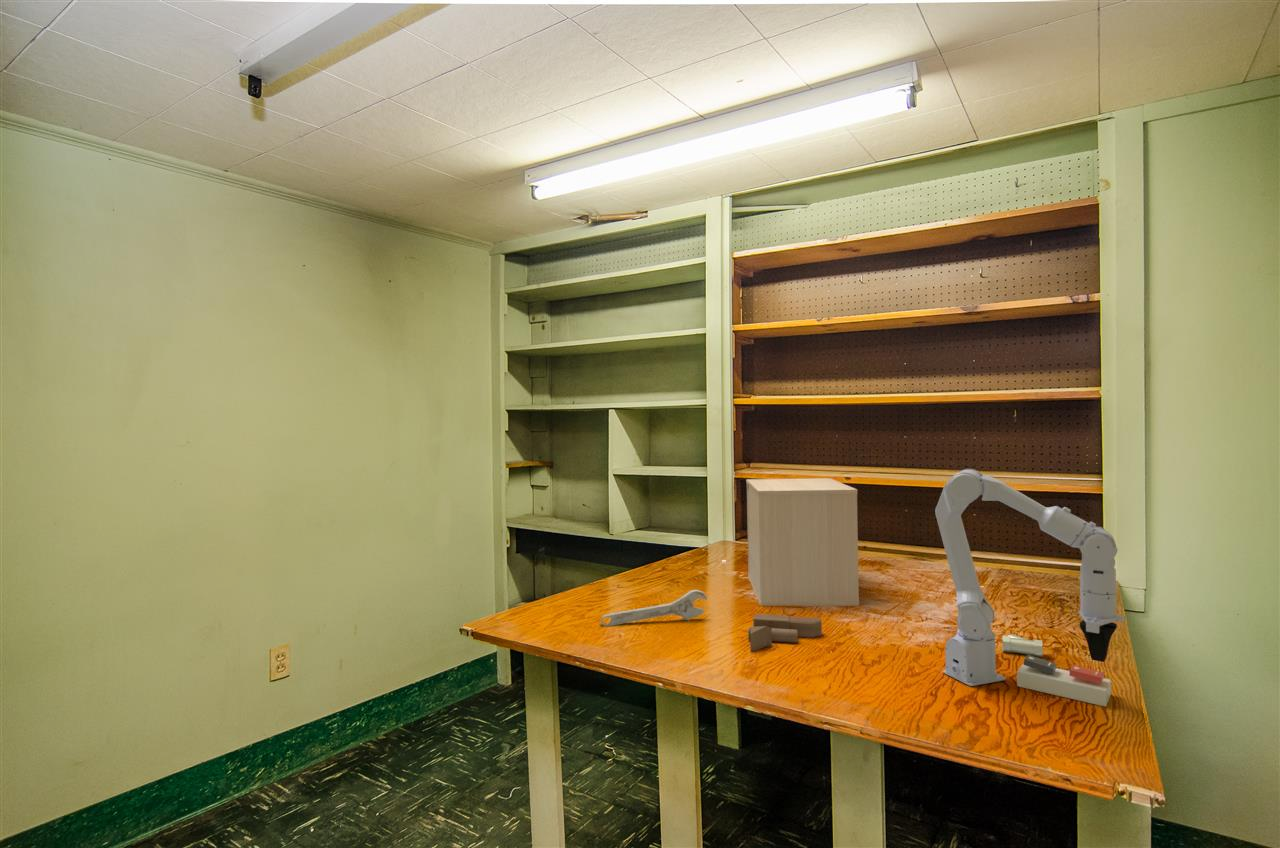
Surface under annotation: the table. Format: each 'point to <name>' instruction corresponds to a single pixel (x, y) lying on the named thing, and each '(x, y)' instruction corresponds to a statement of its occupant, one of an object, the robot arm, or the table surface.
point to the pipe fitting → (1022, 645)
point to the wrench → (660, 610)
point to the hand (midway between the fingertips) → (1098, 659)
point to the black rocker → (1040, 664)
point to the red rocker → (1086, 674)
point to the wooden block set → (781, 629)
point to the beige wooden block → (802, 542)
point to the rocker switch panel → (1064, 685)
